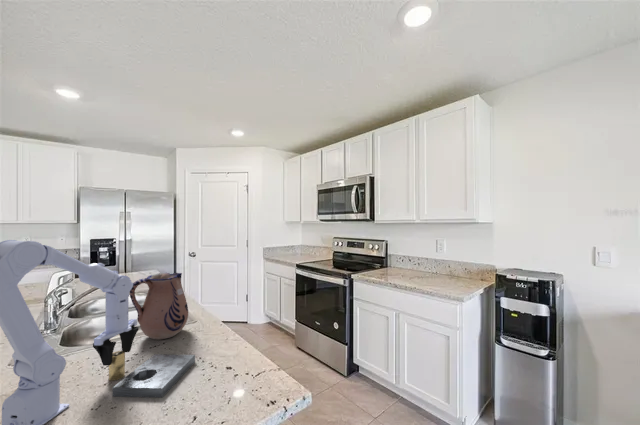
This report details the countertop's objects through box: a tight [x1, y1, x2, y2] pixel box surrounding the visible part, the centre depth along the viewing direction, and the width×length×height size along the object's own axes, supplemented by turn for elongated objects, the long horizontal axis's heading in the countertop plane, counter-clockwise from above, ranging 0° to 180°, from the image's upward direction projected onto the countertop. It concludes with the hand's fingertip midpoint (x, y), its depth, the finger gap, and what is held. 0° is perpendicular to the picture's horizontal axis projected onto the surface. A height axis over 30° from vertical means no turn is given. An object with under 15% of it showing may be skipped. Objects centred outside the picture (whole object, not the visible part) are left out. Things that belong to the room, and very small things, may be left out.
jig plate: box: [111, 353, 196, 398], centre depth 84 cm, size 18×14×2 cm
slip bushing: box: [108, 350, 126, 382], centre depth 84 cm, size 4×4×7 cm
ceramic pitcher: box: [129, 272, 189, 341], centre depth 113 cm, size 18×21×25 cm
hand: (117, 358), depth 84 cm, fingers open, 7 cm apart
